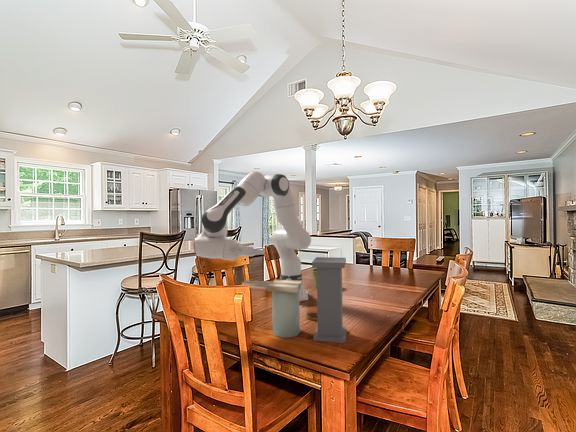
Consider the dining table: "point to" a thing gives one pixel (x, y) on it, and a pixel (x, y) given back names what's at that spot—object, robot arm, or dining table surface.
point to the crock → (285, 314)
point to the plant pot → (315, 276)
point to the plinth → (329, 300)
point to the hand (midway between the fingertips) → (264, 252)
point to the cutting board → (277, 285)
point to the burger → (312, 313)
